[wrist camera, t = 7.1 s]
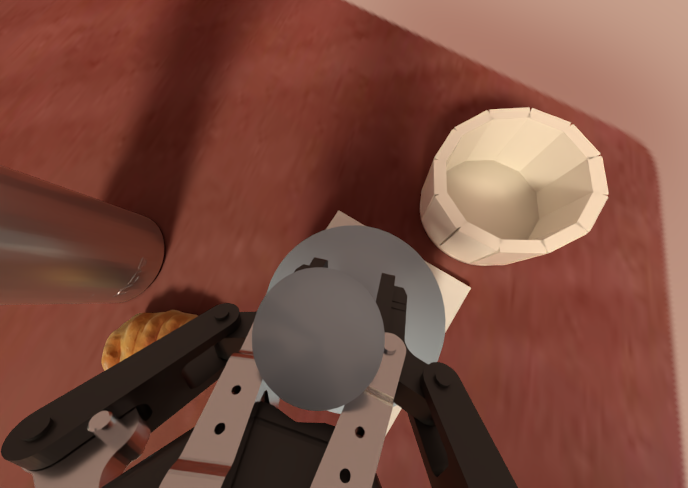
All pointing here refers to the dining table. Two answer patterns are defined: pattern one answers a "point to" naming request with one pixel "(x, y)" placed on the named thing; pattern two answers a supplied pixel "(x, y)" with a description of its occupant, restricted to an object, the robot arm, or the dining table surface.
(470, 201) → the cup
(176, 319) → the pastry
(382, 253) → the lid
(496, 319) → the dining table surface
